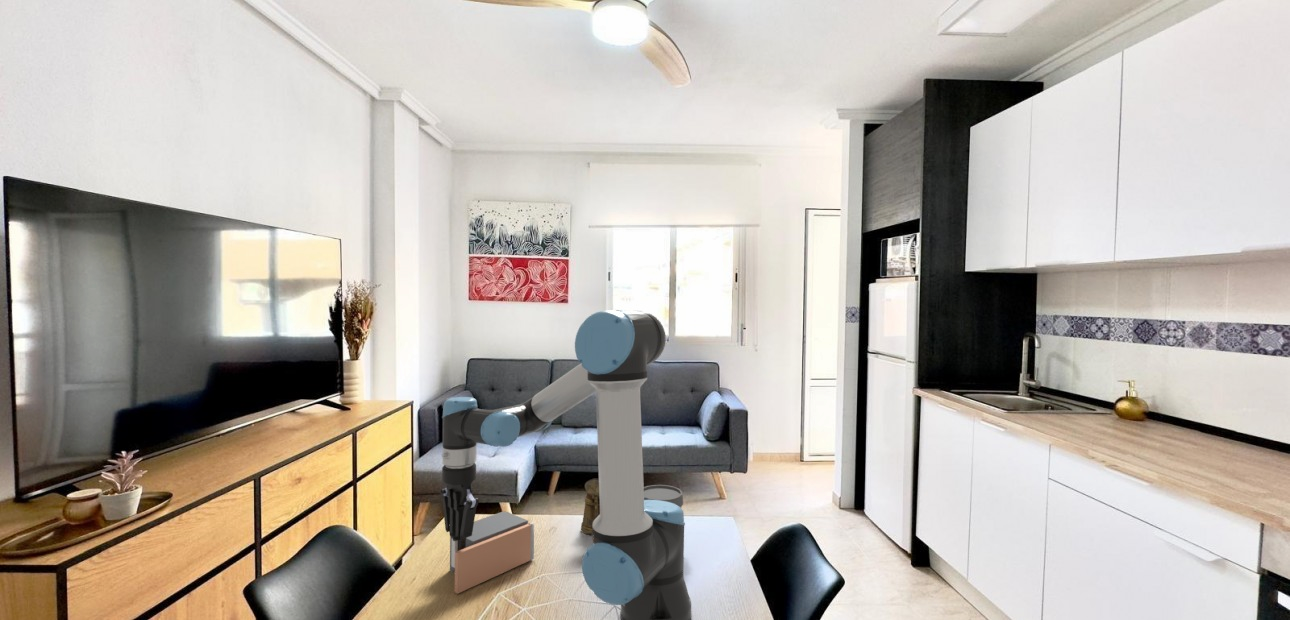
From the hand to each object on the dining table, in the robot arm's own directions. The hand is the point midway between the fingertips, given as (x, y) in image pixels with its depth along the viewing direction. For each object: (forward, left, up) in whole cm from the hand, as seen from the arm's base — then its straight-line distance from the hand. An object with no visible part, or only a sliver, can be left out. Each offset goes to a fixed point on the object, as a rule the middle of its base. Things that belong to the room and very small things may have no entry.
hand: (458, 564), depth 119 cm
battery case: (+3, -10, -5) cm, 12 cm away
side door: (-3, -8, -4) cm, 10 cm away
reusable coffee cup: (-24, -46, -5) cm, 53 cm away
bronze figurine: (-4, -41, -5) cm, 42 cm away
